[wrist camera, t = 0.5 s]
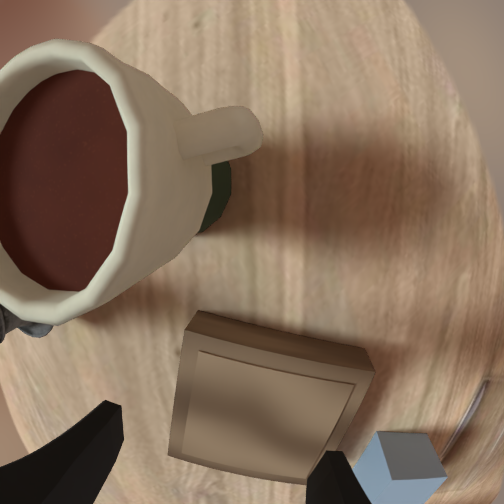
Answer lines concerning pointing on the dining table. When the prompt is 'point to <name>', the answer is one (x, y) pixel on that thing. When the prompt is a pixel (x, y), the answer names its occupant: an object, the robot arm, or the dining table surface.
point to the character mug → (101, 177)
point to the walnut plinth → (263, 398)
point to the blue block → (399, 468)
